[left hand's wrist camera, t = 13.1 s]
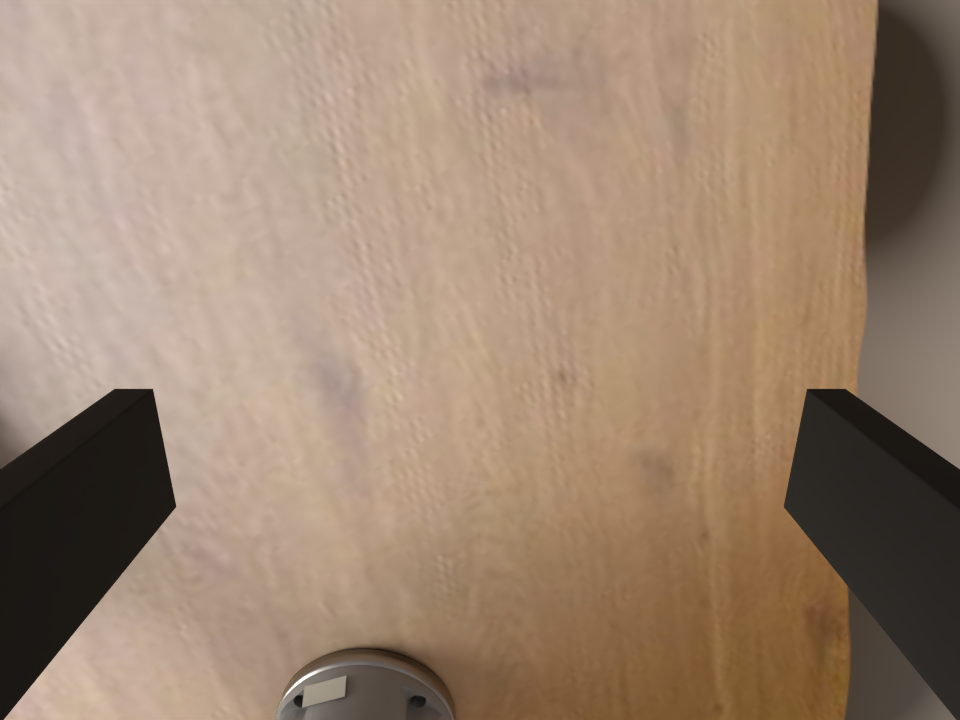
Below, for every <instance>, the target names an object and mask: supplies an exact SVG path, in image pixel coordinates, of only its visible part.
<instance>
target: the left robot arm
mask: <svg viewBox="0 0 960 720" xmlns="http://www.w3.org/2000/svg"><path fill="white" fill-rule="evenodd" d="M175 508H176V503H175V498H174V493H173V488H172V483H171V478H170V473H169V468H168V463H167V458H166V453H165V448H164V443H163V438H162V433H161V428H160V423H159V417H158V412H157V407H156V402H155V397H154V392H153V389H114V390H113V391H111V392H110V393H108V394H107V395H105V396H104V397H103V398H101V399H100V400H98V401H97V402H96V403H94V404H93V405H91V406H90V407H88V408H87V409H86V410H84V411H83V412H81V413H80V414H78V415H77V416H76V417H74V418H73V419H71V420H70V421H69V422H67V423H66V424H64V425H63V426H61V427H60V428H59V429H57V430H56V431H54V432H53V433H51V434H50V435H49V436H47V437H46V438H44V439H43V440H42V441H40V442H39V443H37V444H36V445H34V446H33V447H32V448H30V449H29V450H27V451H26V452H25V453H23V454H22V455H20V456H19V457H17V458H16V459H15V460H13V461H12V462H10V463H9V464H7V465H6V466H5V467H3V468H2V469H0V720H4V719H5V717H6V716H7V715H8V714H9V712H10V711H11V710H12V709H13V707H14V706H15V705H16V704H17V702H18V701H19V700H20V699H21V698H22V696H23V695H24V694H25V693H26V691H27V690H28V689H29V688H30V686H31V685H32V684H33V683H34V682H35V680H36V679H37V678H38V677H39V675H40V674H41V673H42V672H43V670H44V669H45V668H46V667H47V665H48V664H49V663H50V662H51V661H52V659H53V658H54V657H55V656H56V654H57V653H58V652H59V651H60V649H61V648H62V647H63V646H64V645H65V643H66V642H67V641H68V640H69V638H70V637H71V636H72V635H73V633H74V632H75V631H76V630H77V628H78V627H79V626H80V625H81V624H82V622H83V621H84V620H85V619H86V617H87V616H88V615H89V614H90V612H91V611H92V610H93V609H94V607H95V606H96V605H97V604H98V603H99V601H100V600H101V599H102V598H103V596H104V595H105V594H106V593H107V591H108V590H109V589H110V588H111V587H112V585H113V584H114V583H115V582H116V580H117V579H118V578H119V577H120V575H121V574H122V573H123V572H124V570H125V569H126V568H127V567H128V566H129V564H130V563H131V562H132V561H133V559H134V558H135V557H136V556H137V554H138V553H139V552H140V551H141V550H142V548H143V547H144V546H145V545H146V543H147V542H148V541H149V540H150V538H151V537H152V536H153V535H154V533H155V532H156V531H157V530H158V529H159V527H160V526H161V525H162V524H163V522H164V521H165V520H166V519H167V517H168V516H169V515H170V514H171V512H172V511H173V510H174V509H175ZM784 508H785V509H786V510H787V511H788V513H789V514H790V515H791V516H792V517H793V519H794V520H795V521H796V522H797V524H798V525H799V526H800V527H801V529H802V530H803V531H804V532H805V533H806V535H807V536H808V537H809V538H810V540H811V541H812V542H813V543H814V545H815V546H816V547H817V548H818V550H819V551H820V552H821V553H822V554H823V556H824V557H825V558H826V559H827V561H828V562H829V563H830V564H831V566H832V567H833V568H834V569H835V570H836V572H837V573H838V574H839V575H840V577H841V578H842V579H843V580H844V582H845V583H846V584H847V585H848V587H849V588H850V589H851V590H852V591H853V593H854V594H855V595H856V596H857V598H858V599H859V600H860V601H861V603H862V604H863V605H864V606H865V607H866V609H867V610H868V611H869V612H870V614H871V615H872V616H873V617H874V619H875V620H876V621H877V622H878V623H879V625H880V626H881V627H882V628H883V630H884V631H885V632H886V633H887V635H888V636H889V637H890V638H891V640H892V641H893V642H894V643H895V644H896V646H897V647H898V648H899V649H900V651H901V652H902V653H903V654H904V656H905V657H906V658H907V659H908V661H909V662H910V663H911V664H912V665H913V667H914V668H915V669H916V670H917V672H918V673H919V674H920V675H921V677H922V678H923V679H924V680H925V681H926V683H927V684H928V685H929V686H930V688H931V689H932V690H933V691H934V693H935V694H936V695H937V696H938V698H939V699H940V700H941V701H942V702H943V704H944V705H945V706H946V707H947V709H948V710H949V711H950V712H951V714H952V715H953V716H954V717H955V718H956V720H960V469H958V468H957V467H955V466H954V465H953V464H951V463H950V462H948V461H947V460H945V459H944V458H943V457H941V456H940V455H938V454H937V453H935V452H934V451H933V450H931V449H930V448H928V447H927V446H926V445H924V444H923V443H921V442H920V441H918V440H917V439H916V438H914V437H913V436H911V435H910V434H908V433H907V432H906V431H904V430H903V429H901V428H900V427H898V426H897V425H896V424H894V423H893V422H891V421H890V420H889V419H887V418H886V417H884V416H883V415H881V414H880V413H879V412H877V411H876V410H874V409H873V408H872V407H870V406H869V405H867V404H866V403H864V402H863V401H862V400H860V399H859V398H857V397H856V396H855V395H853V394H852V393H850V392H849V391H847V390H846V389H807V392H806V397H805V402H804V407H803V412H802V417H801V423H800V428H799V433H798V438H797V443H796V448H795V453H794V458H793V463H792V468H791V473H790V478H789V483H788V488H787V493H786V498H785V503H784ZM275 720H456V710H455V706H454V702H453V700H452V697H451V695H450V693H449V691H448V690H447V688H446V687H445V685H444V684H443V683H442V682H441V680H440V679H439V678H438V677H437V676H436V675H435V674H433V673H432V672H431V671H430V670H428V669H427V668H425V667H424V666H422V665H421V664H419V663H417V662H415V661H413V660H411V659H409V658H407V657H404V656H401V655H398V654H395V653H391V652H386V651H381V650H373V649H353V650H345V651H340V652H335V653H332V654H328V655H325V656H323V657H320V658H318V659H316V660H314V661H312V662H311V663H309V664H307V665H306V666H305V667H303V668H302V669H301V670H300V671H299V672H297V673H296V674H295V675H294V677H293V678H292V679H291V680H290V682H289V683H288V685H287V687H286V689H285V691H284V693H283V696H282V699H281V702H280V705H279V707H278V711H277V714H276V718H275Z"/></svg>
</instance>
